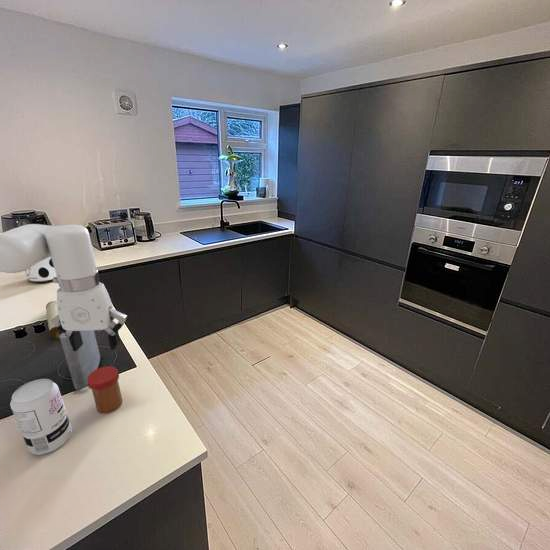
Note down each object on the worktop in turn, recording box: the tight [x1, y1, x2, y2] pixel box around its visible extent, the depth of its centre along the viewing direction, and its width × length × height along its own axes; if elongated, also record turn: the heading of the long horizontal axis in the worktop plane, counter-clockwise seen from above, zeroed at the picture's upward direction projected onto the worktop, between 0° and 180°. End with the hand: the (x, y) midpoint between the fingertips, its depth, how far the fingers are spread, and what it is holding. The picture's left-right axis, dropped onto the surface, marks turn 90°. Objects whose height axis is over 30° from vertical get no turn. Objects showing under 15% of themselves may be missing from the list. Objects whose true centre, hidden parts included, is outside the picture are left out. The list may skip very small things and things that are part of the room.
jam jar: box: [91, 379, 123, 415], centre depth 75 cm, size 6×6×10 cm
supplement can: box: [9, 378, 73, 455], centre depth 64 cm, size 8×8×15 cm
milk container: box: [24, 257, 57, 283], centre depth 152 cm, size 17×17×18 cm
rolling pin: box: [45, 300, 63, 340], centre depth 113 cm, size 32×6×5 cm, turn 38°
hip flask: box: [59, 330, 101, 391], centre depth 85 cm, size 16×4×20 cm, turn 15°
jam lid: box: [87, 365, 120, 391], centre depth 74 cm, size 7×7×2 cm
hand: (96, 346), depth 70 cm, fingers open, 8 cm apart
